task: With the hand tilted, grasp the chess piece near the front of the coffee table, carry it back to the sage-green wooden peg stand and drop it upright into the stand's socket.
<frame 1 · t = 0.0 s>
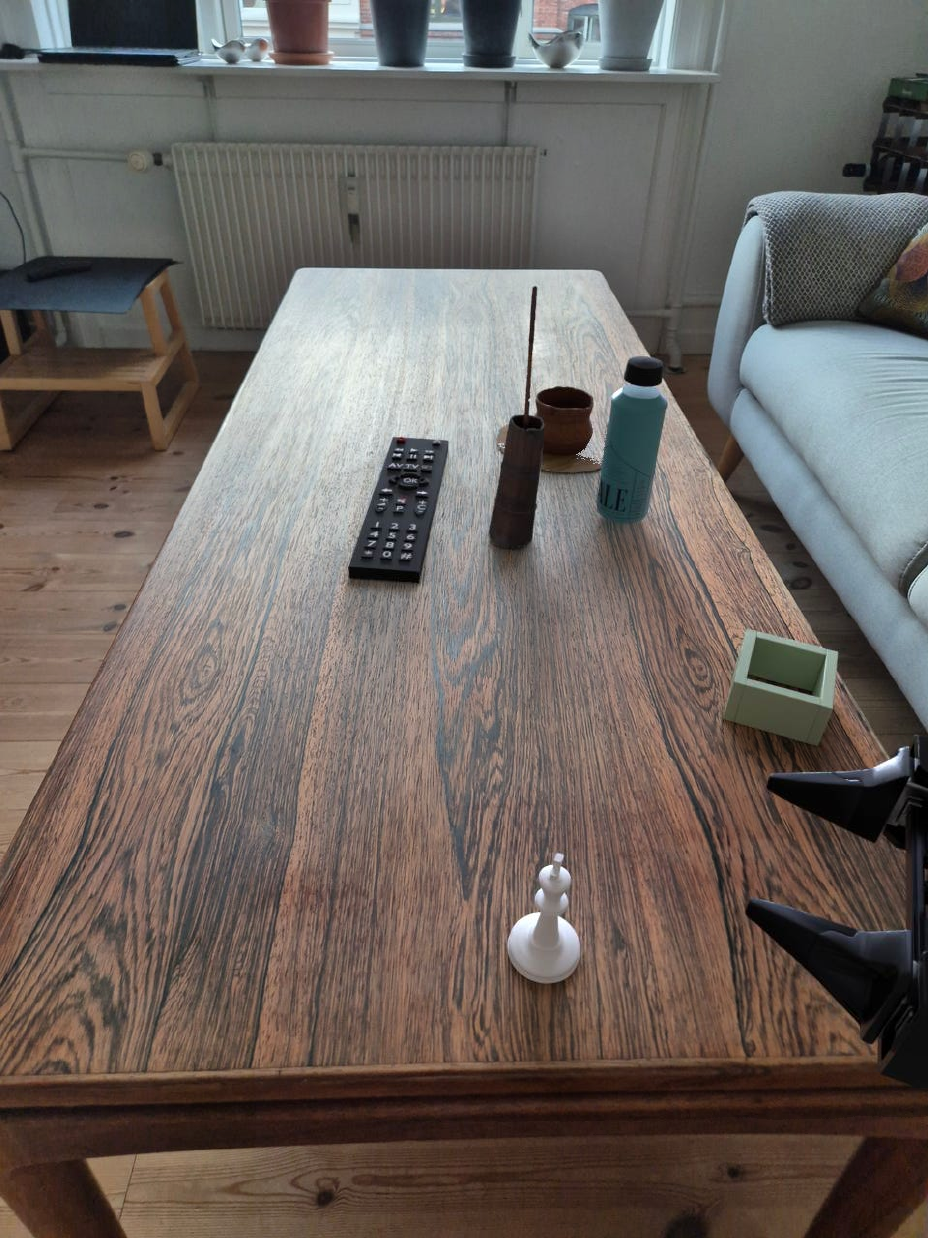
hand: (757, 838, 47), 15 cm above the table, tool horizontal, fingers open, 9 cm apart
butter churn: (513, 544, 97), on the table
peg stand: (774, 703, 77), on the table
chess piece: (543, 951, 57), on the table
ceramic pot: (559, 445, 118), on the table
remote control: (404, 507, 103), on the table
beverage bottle: (619, 522, 102), on the table
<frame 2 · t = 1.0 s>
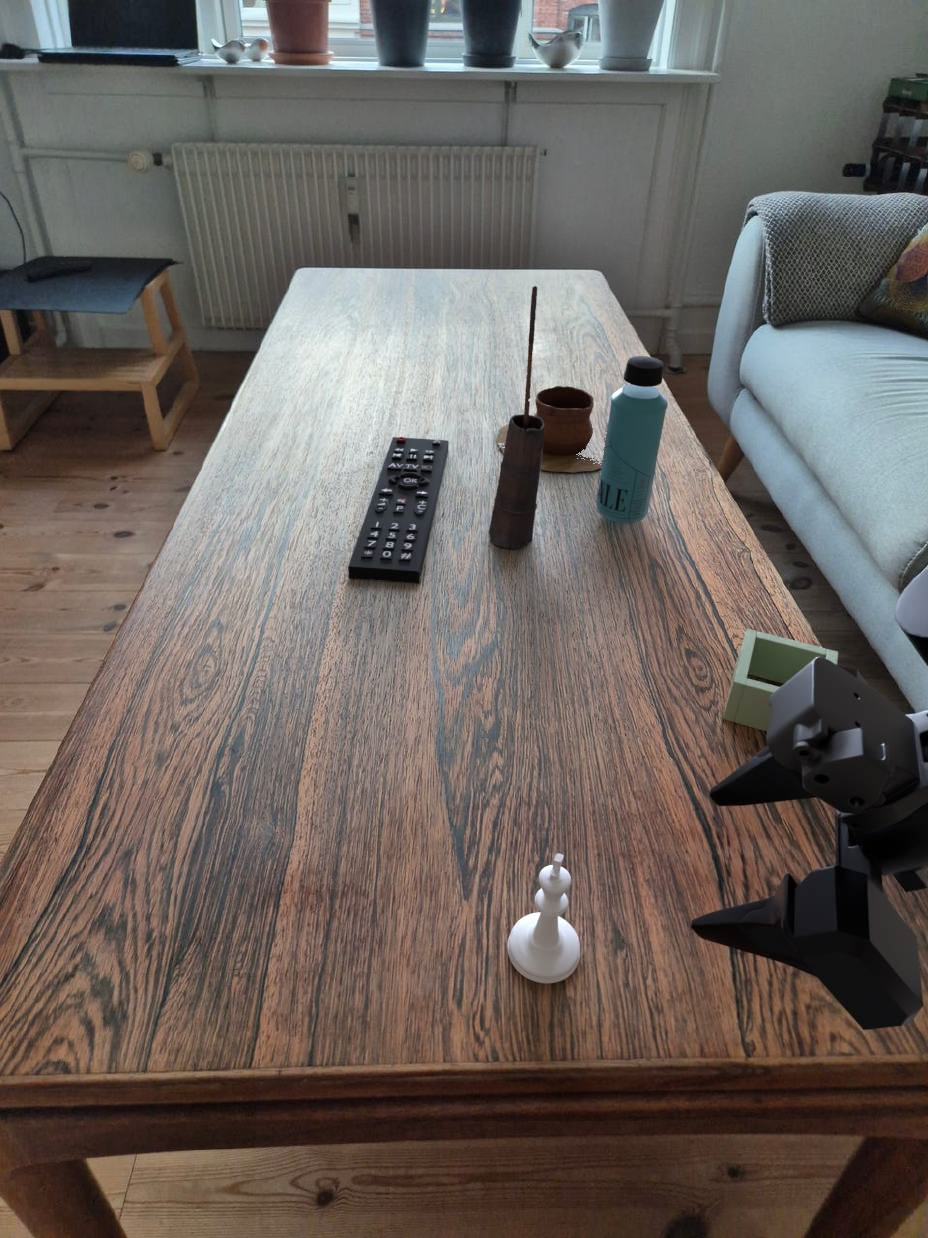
hand: (704, 859, 47), 14 cm above the table, tool tilted 45°, fingers open, 9 cm apart
nothing on the table moved.
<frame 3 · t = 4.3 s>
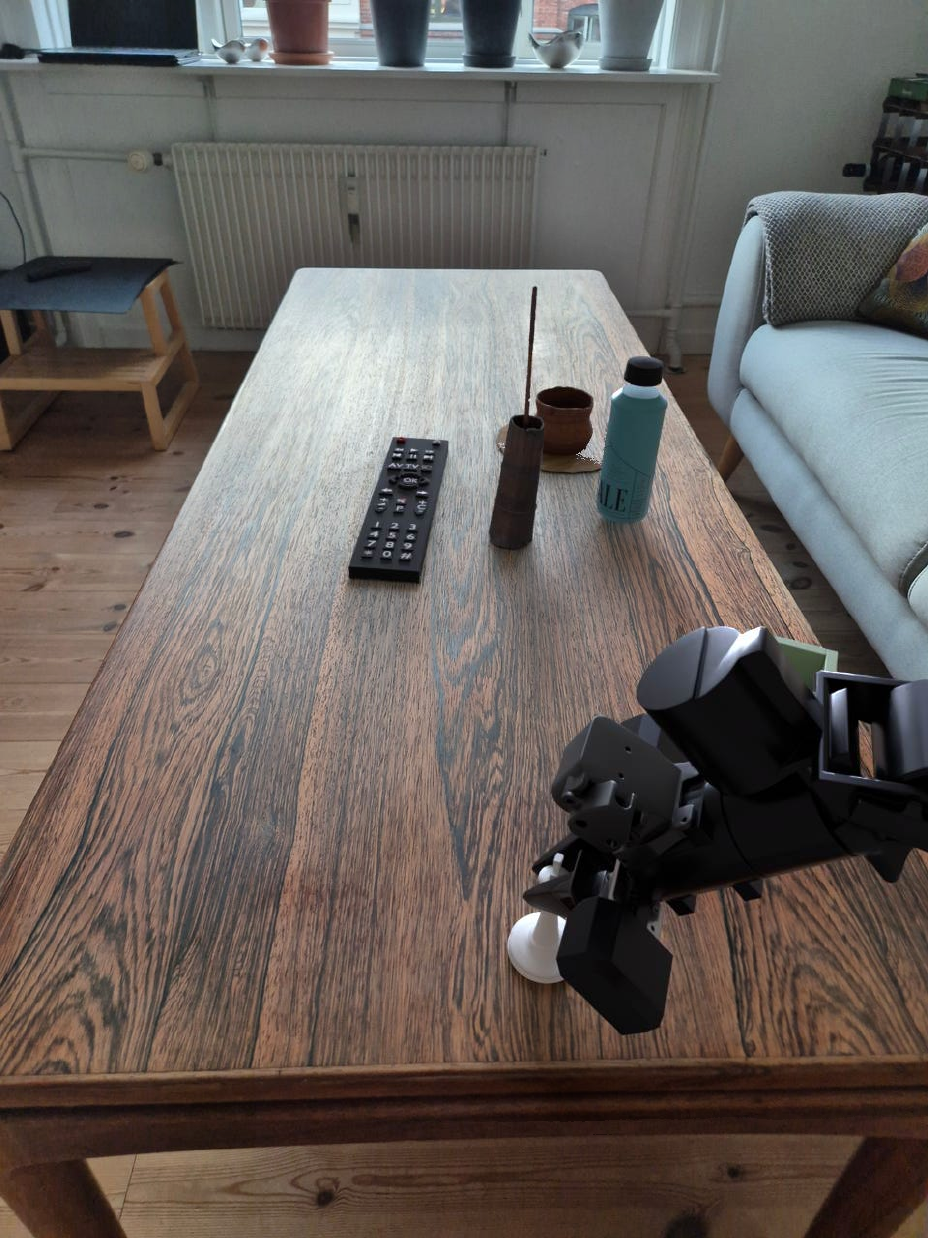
hand: (531, 885, 53), 7 cm above the table, tool tilted 45°, fingers closed on chess piece
chess piece: (543, 950, 57), on the table, touching gripper
everything else where it was.
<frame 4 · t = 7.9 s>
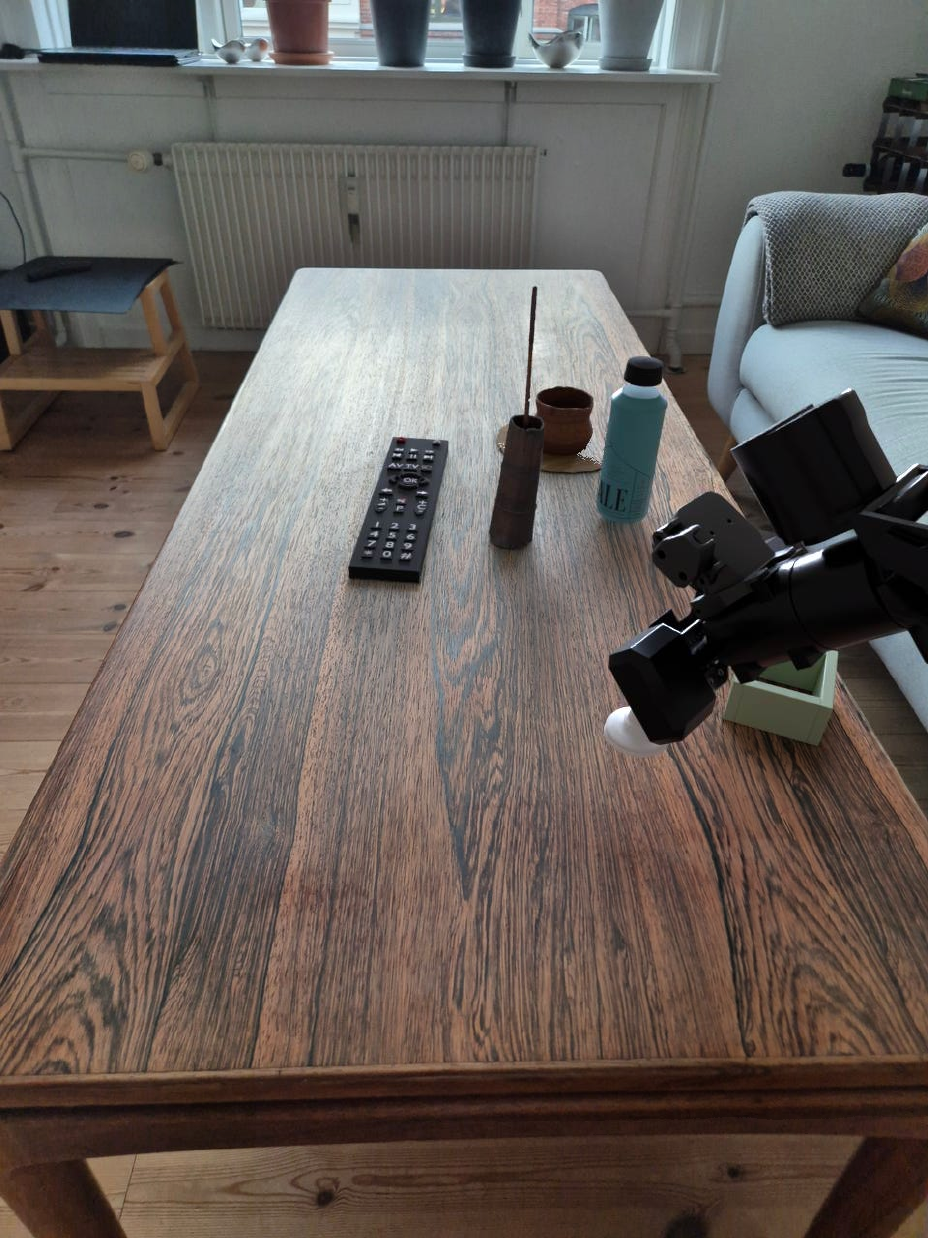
hand: (634, 660, 61), 13 cm above the table, tool tilted 45°, fingers closed on chess piece
chess piece: (635, 736, 64), point 7 cm above the table, touching gripper
everything else where it was.
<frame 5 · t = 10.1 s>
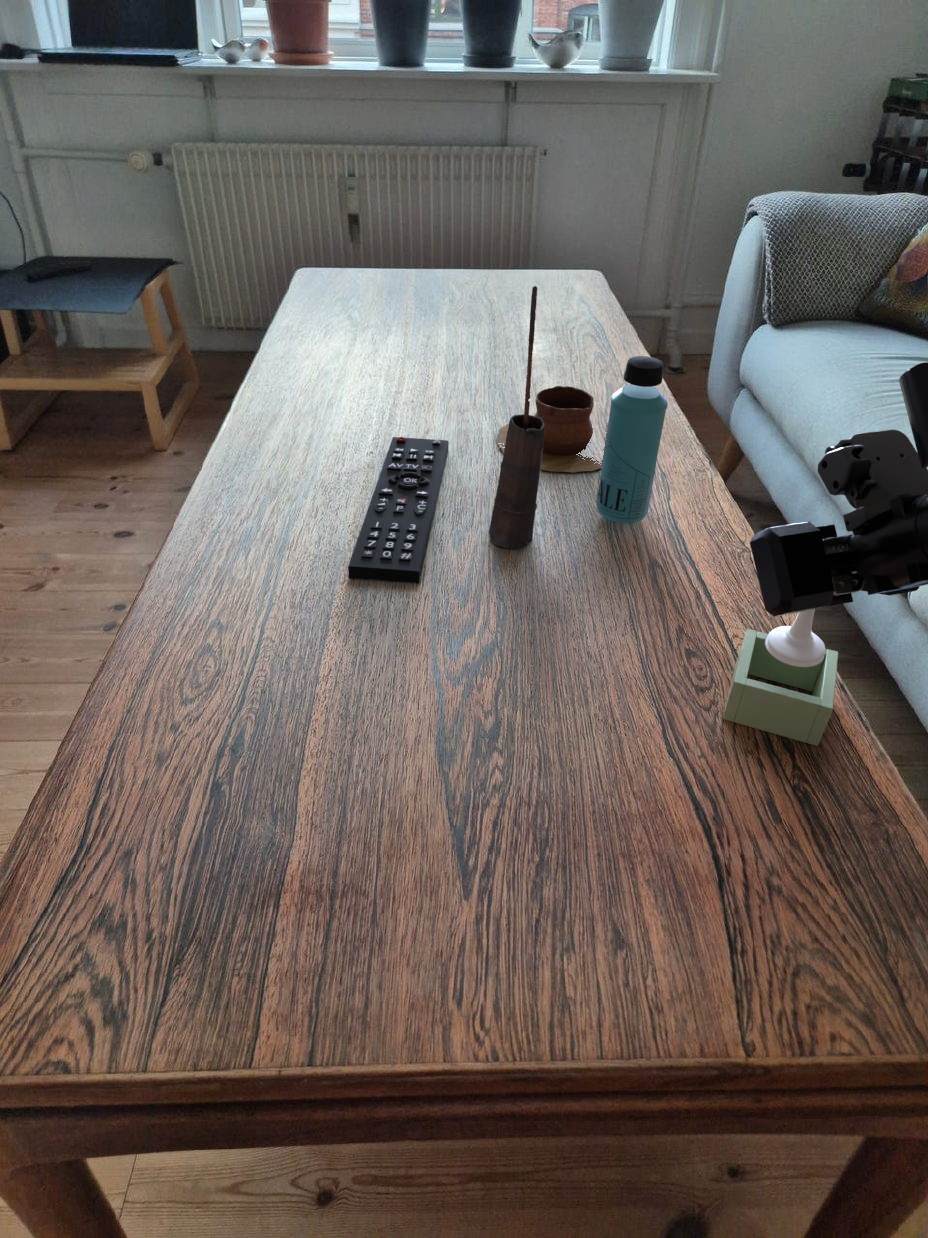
hand: (806, 578, 70), 13 cm above the table, tool tilted 45°, fingers closed on chess piece
chess piece: (793, 650, 73), point 6 cm above the table, touching gripper
everything else where it was.
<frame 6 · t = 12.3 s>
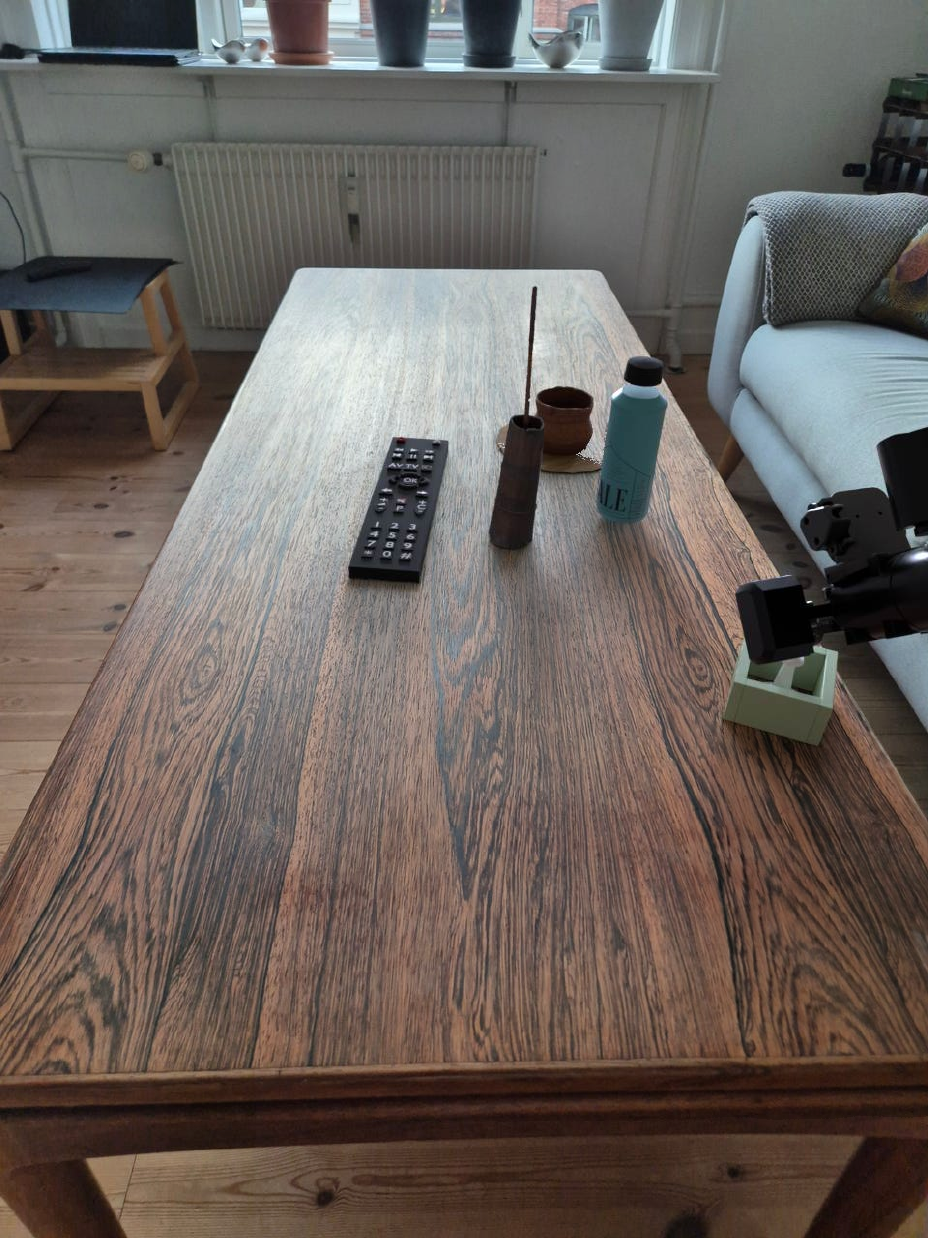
hand: (790, 620, 73), 9 cm above the table, tool tilted 45°, fingers open, 5 cm apart
chess piece: (774, 706, 77), resting in peg stand
everything else where it was.
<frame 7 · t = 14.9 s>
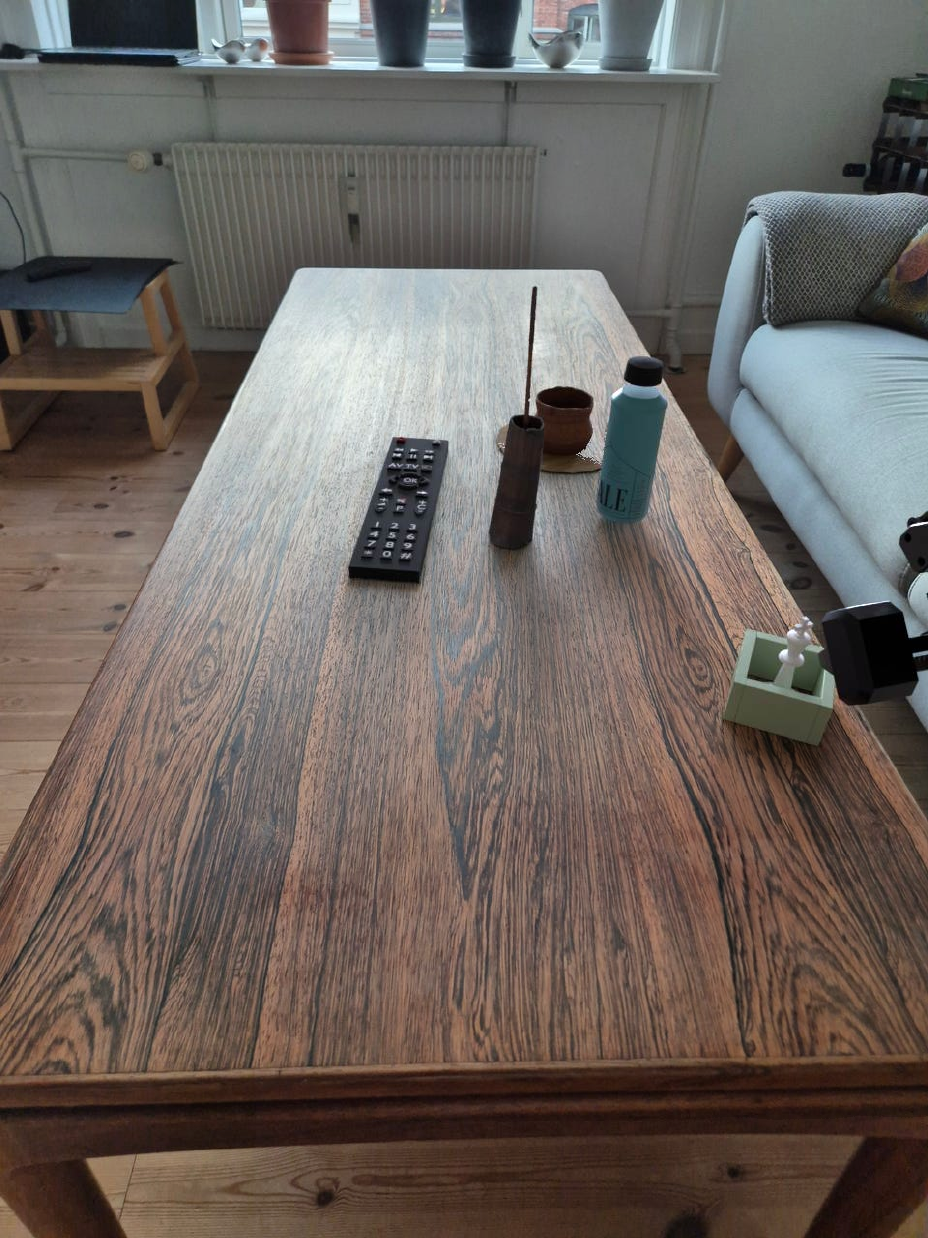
hand: (872, 650, 64), 13 cm above the table, tool tilted 45°, fingers open, 9 cm apart
nothing on the table moved.
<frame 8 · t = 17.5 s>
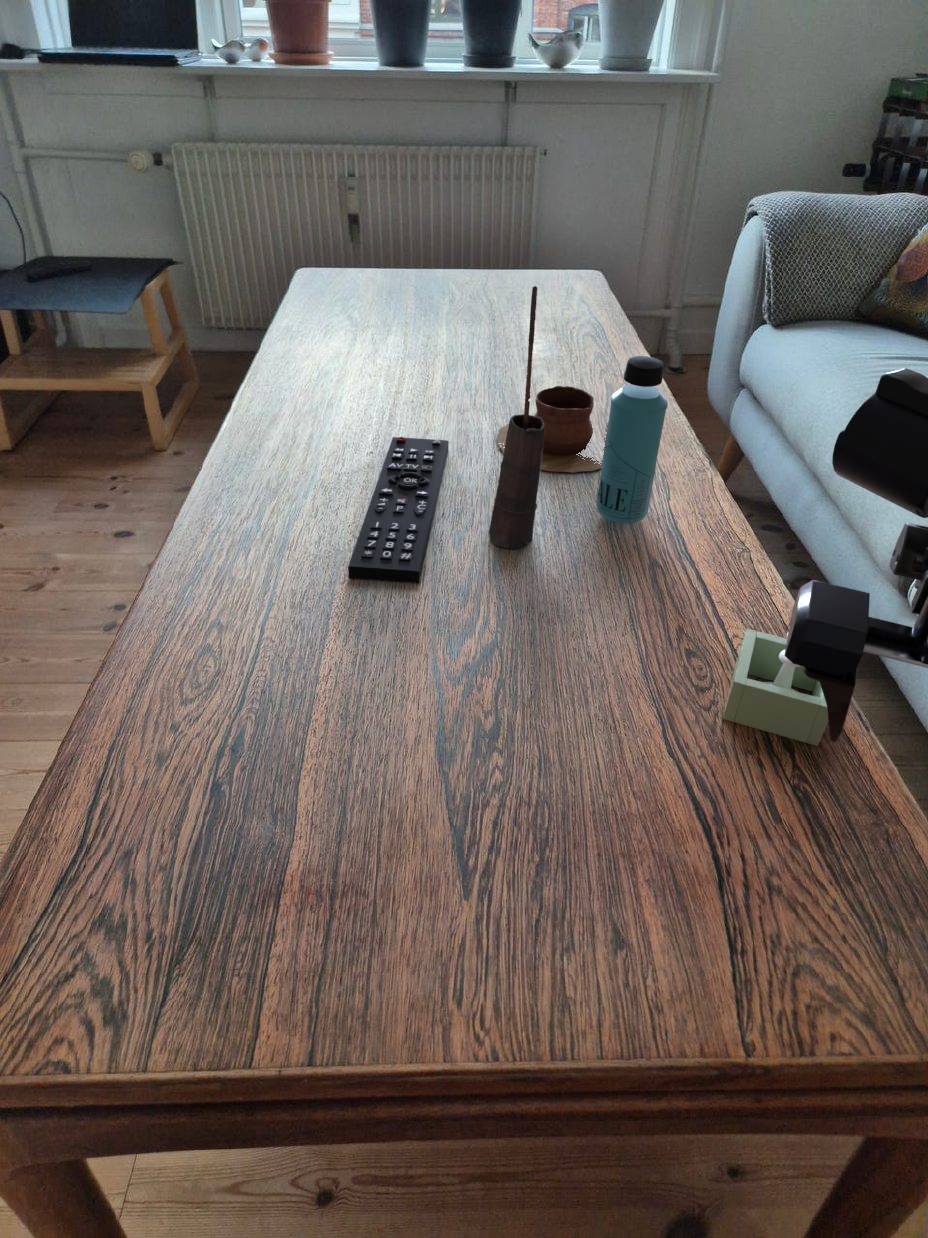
hand: (907, 758, 54), 13 cm above the table, tool pointing down, fingers open, 9 cm apart
nothing on the table moved.
at the end: chess piece 0.2 cm off-centre in the peg stand, point 0.0 cm above the peg stand's base; chess piece tilted 0°; the gripper is holding nothing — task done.
